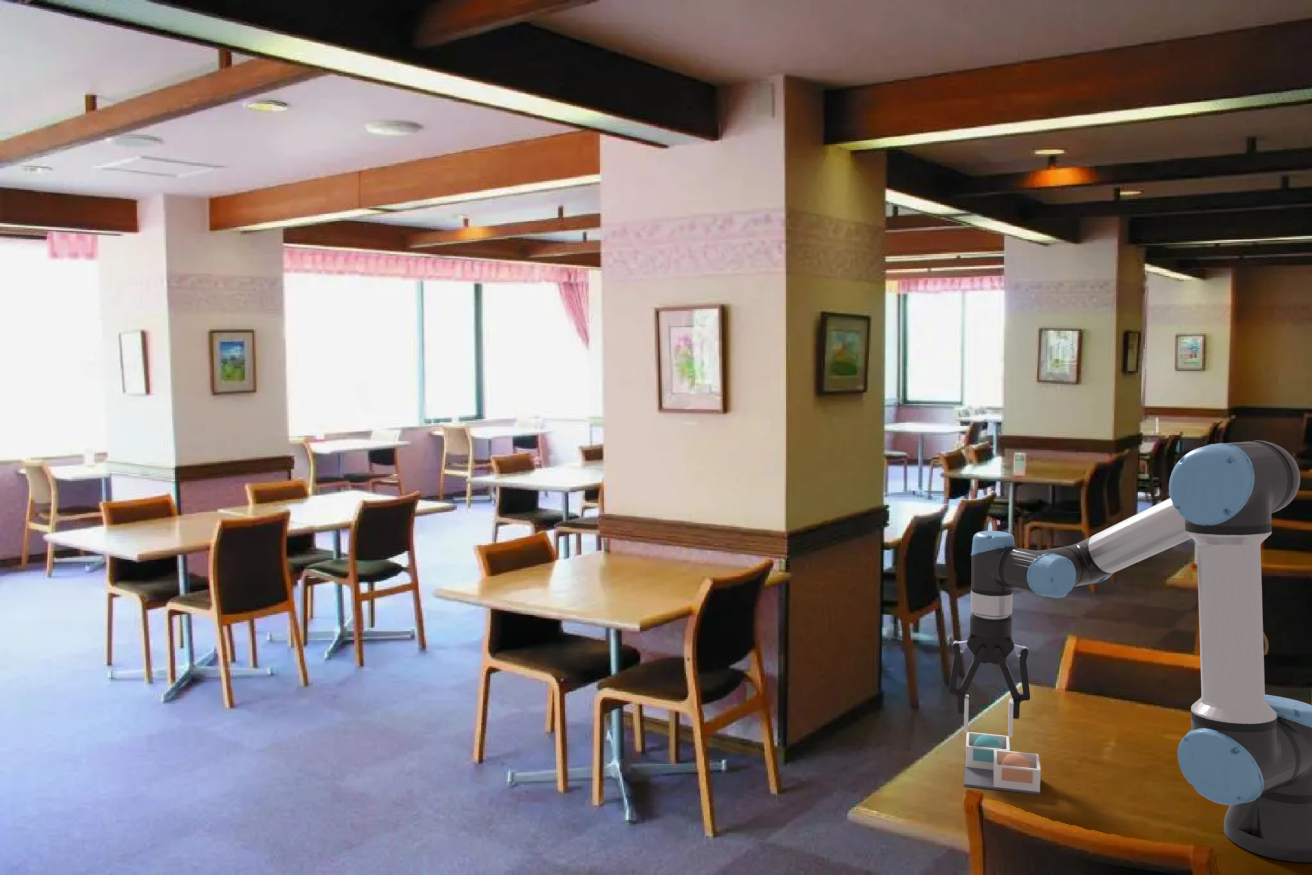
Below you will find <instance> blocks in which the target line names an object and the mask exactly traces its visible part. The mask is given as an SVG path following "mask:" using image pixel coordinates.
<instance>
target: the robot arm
mask: <svg viewBox="0 0 1312 875" xmlns="http://www.w3.org/2000/svg"><path fill="white" fill-rule="evenodd" d="M1300 486H1301V473H1300V469H1299V466H1298V464H1297V462H1296V460H1295V459H1294V457H1293V456H1292V455H1291V454H1290V453H1289V452H1288V451H1287V450H1286V449H1285V448H1283V447H1281V446H1280V445H1277V444H1275V443H1274V442H1269V441H1266V440H1247V441H1241V442H1240V441H1239V442H1227V443H1226V442H1225V443H1223V442H1220V443H1210V444H1207V445H1205V446H1201V447H1198V448H1197V447H1196V448H1195V449H1192V450H1191V451H1189V452H1187V453H1186V454H1185V455H1183V456H1182V457H1181V458H1180V459H1179V460H1178V462H1177V463H1176V464H1175V465H1174V467H1173V469H1172V471H1171V475H1170V477H1169V482H1168V492H1169V498H1167V499H1164V500H1163V501H1161V502H1159V503H1157V504H1155V505H1153V506H1151V507H1149V508H1147V509H1145V510H1143V511H1140V512H1138V513H1136V514H1134V515H1133V516H1130V517H1127V518H1126V519H1124V520H1122V521H1119V522H1118V523H1116V524H1113V525H1112V526H1110V527H1108V528H1105V529H1104V530H1101V531H1100V532H1097V533H1096V534H1094V535H1092V536H1090V537H1087V538H1085V539H1083V540H1081V541H1079V542H1078V543H1077V542H1076V543H1075V544H1074V543H1073V544H1071V545H1067V546H1061V547H1055V548H1054V547H1053V548H1049V549H1044V550H1043V549H1042V550H1032V549H1026V548H1022V547H1018V546H1016V543H1015V537H1014V535H1013V534H1011V533H1010V532H1007V531H999V530H983V531H978V532H976V533H975V534H974V535H973V537H972V544H971V553H970V557H971V559H970V560H971V586H970V608H969V609H970V612H971V614H970V616H969V636H968V637H967V639H966V640H962V641H961V640H960V641H959V640H958V639H956V640H953V642H952V650H953V654H954V655H953V662H952V668H951V673H950V678H949V685H948V693H949V694H951V695H955V696H956V697H957V711H958V714H960V715H963V733H965V734H967V733H968V732H969V709H970V708H969V707H970V705H969V701H970V695H969V694H967V692H968V690H969V688H970V687H971V684H972V682H973V680H974V677H975V676H976V673H977V671H978V669H979V667H980V665H981V664H989V663H990V664H992V665H999V667H1000V670H1001V673H1002V674H1003V677H1004V680H1005V682H1006V684H1007V688H1008V690H1009V692H1010V696H1011V698H1008V719H1007V721H1008V722H1007V723H1008V724H1007V736H1008V737H1009V738H1013V733H1014V732H1013V731H1014V728H1013V727H1014V726H1013V725H1014V720H1015V719H1016V720H1019V719H1020V717H1021V716H1020V712H1021V710H1020V709H1021V703H1022V702H1024V701H1027V702H1029V701H1030V700H1031V692H1030V684H1029V676H1028V667H1027V659H1028V656H1029V647H1028V645H1026V644H1023V645H1019V644H1015V643H1014V641H1013V639H1012V634H1013V633H1012V629H1013V617H1012V616H1011V615H1012V613H1013V602H1014V601H1013V598H1014V597H1013V595H1014V590H1013V589H1015V590H1018V591H1023V592H1026V593H1031V594H1035V595H1038V596H1041V597H1043V598H1048V597H1049V598H1055V599H1061V598H1064V597H1066V596H1067V595H1068V593H1070V592H1071V591H1072V590H1073V588H1074V587H1079V586H1080V587H1081V586H1085V585H1094V584H1095V585H1096V584H1099V583H1101V582H1103V581H1106V580H1108V579H1109V578H1110V577H1112V576H1113V574H1114V573H1116V572H1118V571H1121V570H1124V569H1126V568H1128V567H1130V566H1132V565H1134V564H1136V563H1139V562H1142V561H1143V560H1146V559H1148V558H1150V557H1152V556H1154V555H1157V554H1160V553H1161V552H1164V551H1167V550H1168V549H1171V548H1173V547H1175V546H1177V545H1179V544H1183V543H1184V542H1186V541H1189V540H1191V539H1192V540H1193V541H1194V542H1195V544H1196V560H1197V561H1196V563H1197V567H1196V568H1197V590H1198V591H1197V592H1198V594H1197V595H1198V596H1197V597H1198V622H1199V652H1200V653H1199V654H1200V655H1199V656H1200V657H1199V658H1200V659H1199V660H1200V683H1201V684H1200V688H1201V689H1200V690H1201V693H1200V694H1201V696H1200V698H1199V699H1197V700H1196V701H1195V702H1194V703H1193V704H1192V705H1191V707H1190V713H1191V714H1190V715H1191V717H1190V719H1191V720H1190V724H1191V725H1190V726H1191V730H1189V731H1188V732H1187V733H1186V734H1185V735H1184V736H1183V738H1182V739H1180V742H1179V743H1178V748H1177V762H1178V765H1179V768H1180V771H1181V772H1182V775H1183V776H1184V778H1185V780H1186V781H1187V782H1188V784H1190V785H1191V786H1192V787H1193V788H1194V790H1195V791H1196V792H1197V794H1199V795H1201V796H1202V797H1204V798H1206V799H1207V800H1209V801H1211V802H1213V803H1215V804H1218V805H1223V806H1228V808H1227V811H1226V813H1225V816H1224V820H1223V832H1224V835H1225V836H1226V838H1228V839H1229V840H1230V841H1231V843H1234V844H1235V845H1237V846H1238V847H1240V848H1242V849H1244V850H1246V851H1249V852H1251V853H1253V854H1257V855H1259V856H1263V857H1266V858H1270V859H1274V860H1279V861H1285V862H1292V863H1312V704H1309V703H1306V702H1303V701H1300V700H1296V699H1293V698H1292V699H1291V698H1287V697H1284V696H1283V697H1282V696H1277V695H1270V694H1266V690H1265V657H1264V656H1265V654H1264V639H1263V632H1264V623H1263V621H1264V620H1263V616H1264V615H1263V589H1262V588H1263V586H1262V584H1263V583H1262V557H1261V556H1262V555H1261V551H1262V550H1261V545H1262V543H1263V542H1264V541H1265V540H1266V539H1268V537H1269V536H1271V535H1272V534H1273V532H1272V514H1273V513H1276V512H1279V511H1280V510H1282V509H1283V508H1286V507H1287V506H1288V505H1289V504H1290V503H1291V502H1292V501H1293V500H1294V498H1295V497H1296V496H1297V493H1298V492H1299V488H1300ZM966 648H968V649H969V650H970V652H971V653H972V654H973V657H972V659H971V662H970V665H969V667H968V669H967V671H966V673H965V676H964V679H963V680H962V682H961V684H960V686H957V684H958V682H957V681H958V677H959V671H960V666H961V658H962V654H964V653H965V651H966ZM1012 652H1015V656H1016V658H1018V662H1019V670H1020V671H1019V672H1020V679H1021V688H1022V691H1021V692H1019V690H1018V688H1017V685H1016V682H1015V680H1014V677H1013V675H1012V672H1011V669H1010V667H1009V665H1008V661H1007V657H1008V656H1009V655H1010V654H1011V653H1012Z"/></svg>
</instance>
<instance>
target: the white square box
mask: <svg viewBox="0 0 1312 875" xmlns="http://www.w3.org/2000/svg"><path fill="white" fill-rule="evenodd" d="M1013 753H1016V754H1020V755H1022V756H1023V757H1025V758H1026V759H1027V761H1028V763H1029V765H1030V768H1025V767H1016V766H1006V765H1001V763H1002V760H1003V759H1004V758H1005V757H1006V756H1007V755H1009V754H1013ZM993 775H994V787H999V788H1008V789H1017V790H1026V791H1035V792H1040V793H1041V782H1042V765H1041V758H1040V756H1039V753H1031V752H1021V751H1012V750H1011V751H1004V750H994V766H993Z"/></svg>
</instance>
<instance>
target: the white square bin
mask: <svg viewBox="0 0 1312 875" xmlns="http://www.w3.org/2000/svg"><path fill="white" fill-rule="evenodd" d="M981 735H991V736H993V737H995V738H996V739H997V740H998V741H999V743H1000V746H1001V749H997V748H988V747H978V746H974V742H975V740H976V739H977V738H978V737H979V736H981ZM965 737H966V738H965V754H966V767H971V768H980V769H989V770H993V766H994V750H1004V751H1012V749H1011V740H1010V737H1008V735H1001V734H992V733H991V734H990V733H984V732H983V733H981V732H973V731H972V732H970V731H968V733H966V736H965Z"/></svg>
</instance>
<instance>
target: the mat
mask: <svg viewBox="0 0 1312 875" xmlns="http://www.w3.org/2000/svg"><path fill="white" fill-rule="evenodd" d="M964 754H965V759H964V760H965V761H964V779H963V780H964V782H963V786H964V787H970V788H971V787H972V788H979V789H989V790H998V791H1007V792H1016V793H1022V794H1023V793H1024V794H1031V795H1032V794H1033V795H1041V791H1040V792H1035V791H1026V790H1017V789H1008V788H999V787H994V775H993V770H989V769H980V768H971V767H966V753H964Z"/></svg>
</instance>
